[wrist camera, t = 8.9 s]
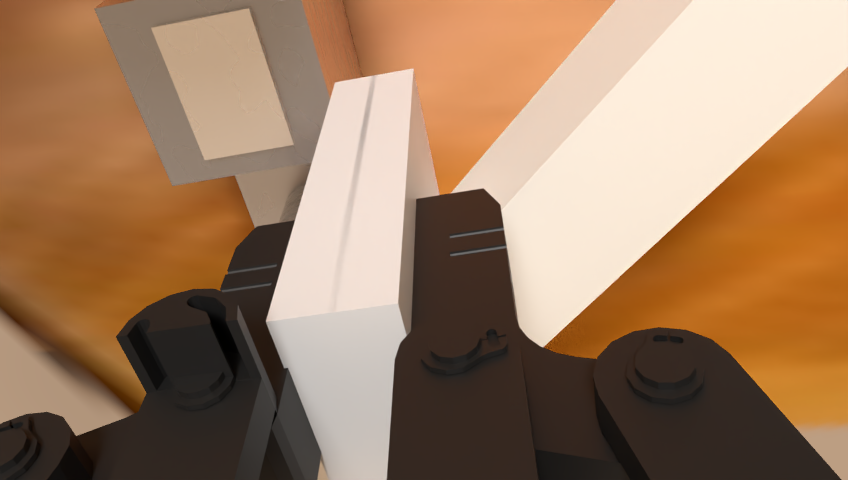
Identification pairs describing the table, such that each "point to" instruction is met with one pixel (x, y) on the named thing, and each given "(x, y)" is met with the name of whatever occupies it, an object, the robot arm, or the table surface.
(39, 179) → the table surface
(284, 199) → the post
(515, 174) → the swing arm
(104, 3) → the grey tin
